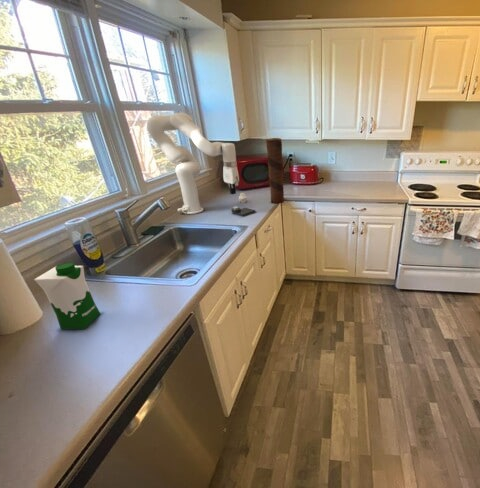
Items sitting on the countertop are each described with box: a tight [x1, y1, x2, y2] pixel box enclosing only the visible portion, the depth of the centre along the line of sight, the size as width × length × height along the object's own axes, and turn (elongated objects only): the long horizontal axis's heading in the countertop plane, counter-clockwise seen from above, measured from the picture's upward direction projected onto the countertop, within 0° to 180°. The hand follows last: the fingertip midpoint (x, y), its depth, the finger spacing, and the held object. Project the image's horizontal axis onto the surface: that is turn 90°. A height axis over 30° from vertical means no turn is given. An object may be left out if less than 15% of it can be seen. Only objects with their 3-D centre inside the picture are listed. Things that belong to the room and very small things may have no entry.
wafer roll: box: [265, 137, 285, 204], centre depth 200 cm, size 10×11×45 cm
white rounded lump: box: [238, 192, 248, 204], centre depth 206 cm, size 6×6×7 cm
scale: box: [230, 207, 256, 218], centre depth 185 cm, size 12×11×3 cm
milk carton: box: [33, 261, 101, 330], centre depth 83 cm, size 9×9×20 cm
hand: (233, 193), depth 179 cm, fingers closed
